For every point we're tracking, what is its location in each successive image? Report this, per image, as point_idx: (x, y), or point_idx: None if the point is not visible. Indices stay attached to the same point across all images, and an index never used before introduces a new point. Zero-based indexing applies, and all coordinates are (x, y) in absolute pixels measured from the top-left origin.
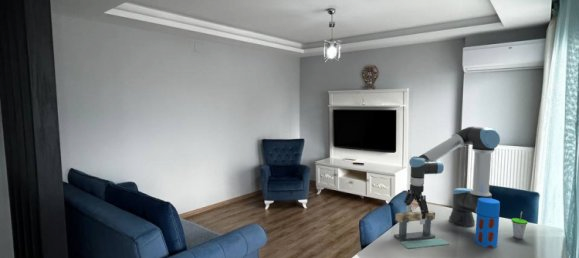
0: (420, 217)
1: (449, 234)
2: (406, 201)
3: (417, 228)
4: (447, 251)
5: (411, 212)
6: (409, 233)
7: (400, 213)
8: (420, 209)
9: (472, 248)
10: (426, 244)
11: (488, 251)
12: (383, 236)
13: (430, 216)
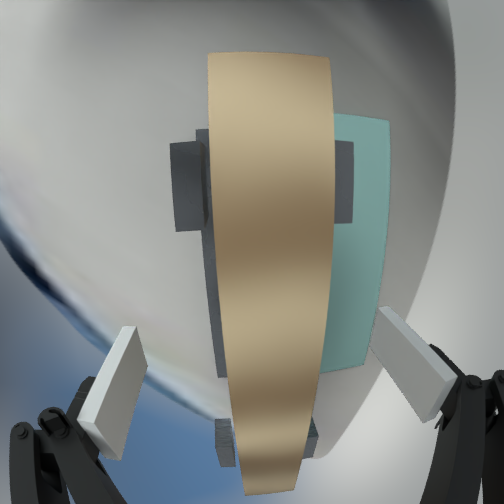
0: (403, 387)
1: (249, 9)
2: (48, 466)
3: (108, 163)
4: (437, 195)
5: (240, 423)
6: (215, 291)
7: (251, 482)
8: (436, 451)
9: (426, 52)
10: (369, 263)
11: (446, 26)
12: (214, 406)
13: (347, 183)
